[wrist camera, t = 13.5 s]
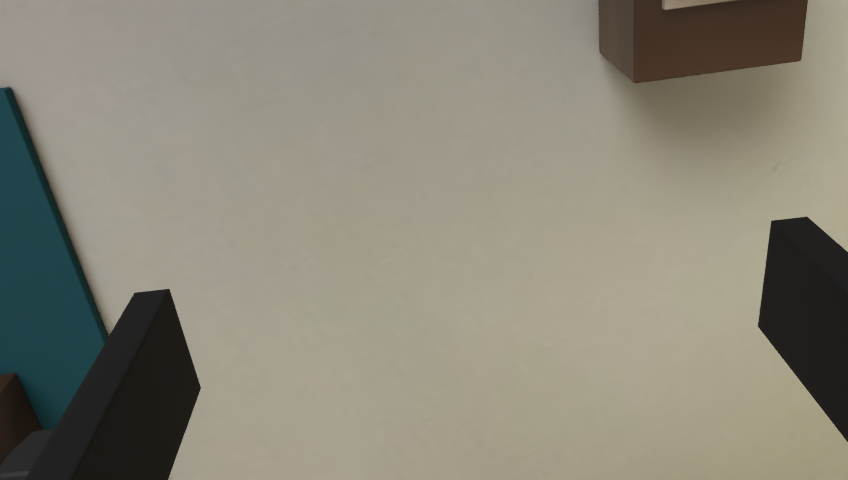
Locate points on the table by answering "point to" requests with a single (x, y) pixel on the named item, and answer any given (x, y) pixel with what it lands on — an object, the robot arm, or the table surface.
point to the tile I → (699, 35)
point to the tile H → (14, 415)
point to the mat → (40, 282)
